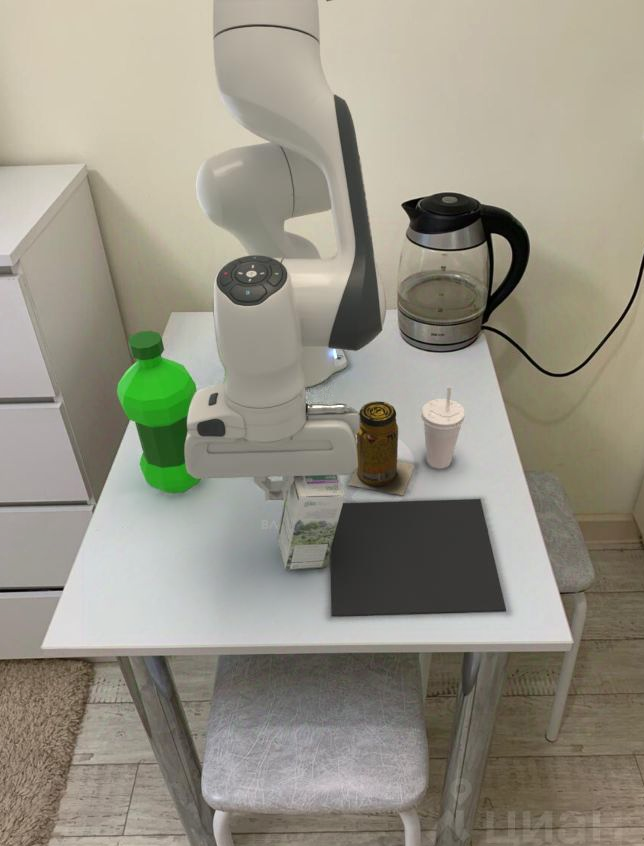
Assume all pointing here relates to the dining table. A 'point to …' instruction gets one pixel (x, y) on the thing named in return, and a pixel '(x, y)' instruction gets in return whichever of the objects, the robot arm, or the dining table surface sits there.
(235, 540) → the dining table surface
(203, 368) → the dining table surface
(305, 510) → the syrup box
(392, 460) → the condiment
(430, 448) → the smoothie
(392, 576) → the mat
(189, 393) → the plastic bottle
